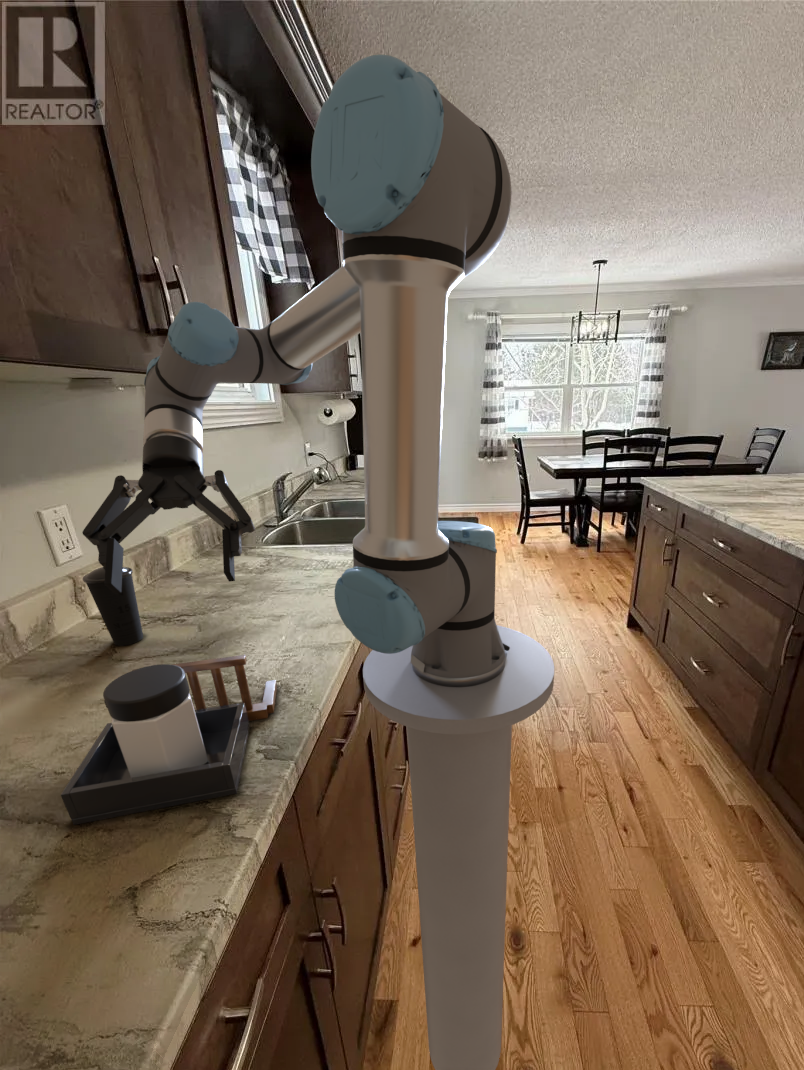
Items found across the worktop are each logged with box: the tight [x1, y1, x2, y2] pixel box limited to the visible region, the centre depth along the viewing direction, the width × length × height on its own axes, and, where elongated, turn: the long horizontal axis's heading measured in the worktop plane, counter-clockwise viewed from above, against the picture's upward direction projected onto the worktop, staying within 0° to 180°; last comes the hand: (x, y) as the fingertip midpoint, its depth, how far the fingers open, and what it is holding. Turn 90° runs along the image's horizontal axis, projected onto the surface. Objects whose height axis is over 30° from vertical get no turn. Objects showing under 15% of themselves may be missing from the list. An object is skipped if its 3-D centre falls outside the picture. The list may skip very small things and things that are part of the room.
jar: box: [102, 663, 208, 778], centre depth 57 cm, size 9×8×12 cm
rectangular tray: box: [60, 702, 251, 826], centre depth 59 cm, size 17×13×4 cm
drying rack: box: [131, 654, 278, 722], centre depth 69 cm, size 18×8×10 cm, turn 104°
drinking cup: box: [82, 545, 144, 647], centre depth 89 cm, size 8×8×20 cm
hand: (172, 583), depth 62 cm, fingers open, 13 cm apart
